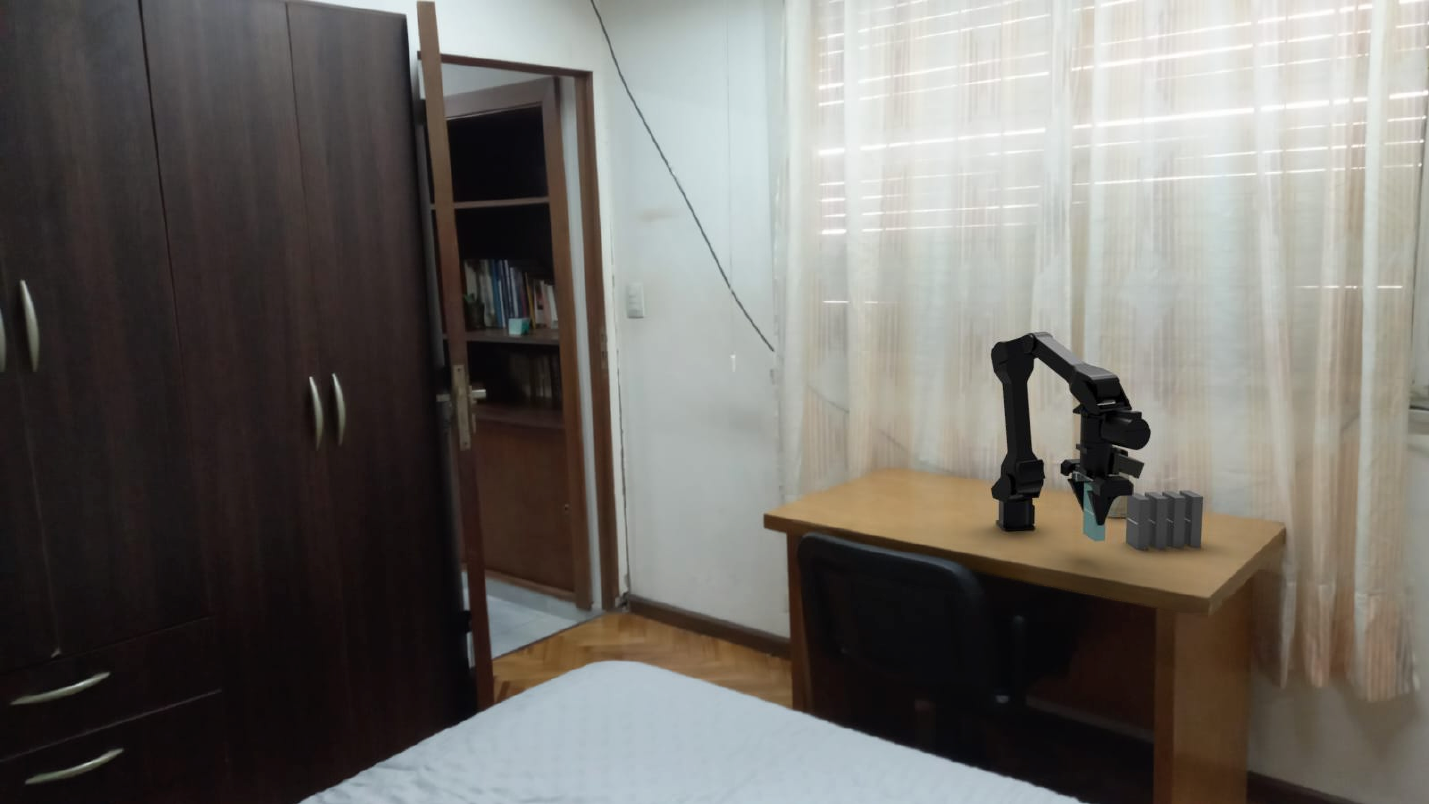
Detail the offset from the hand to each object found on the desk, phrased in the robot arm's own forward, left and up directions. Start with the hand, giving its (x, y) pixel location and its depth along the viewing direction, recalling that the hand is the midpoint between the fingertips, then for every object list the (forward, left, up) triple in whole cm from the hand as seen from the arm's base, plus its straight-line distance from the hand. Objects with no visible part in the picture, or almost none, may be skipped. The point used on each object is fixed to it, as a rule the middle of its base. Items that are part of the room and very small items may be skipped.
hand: (1094, 521), depth 180 cm
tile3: (+15, +6, -7) cm, 18 cm away
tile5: (+22, +6, -7) cm, 24 cm away
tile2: (+11, +6, -7) cm, 15 cm away
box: (+17, +27, -8) cm, 33 cm away
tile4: (+18, +6, -7) cm, 21 cm away
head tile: (0, 0, -3) cm, 3 cm away
